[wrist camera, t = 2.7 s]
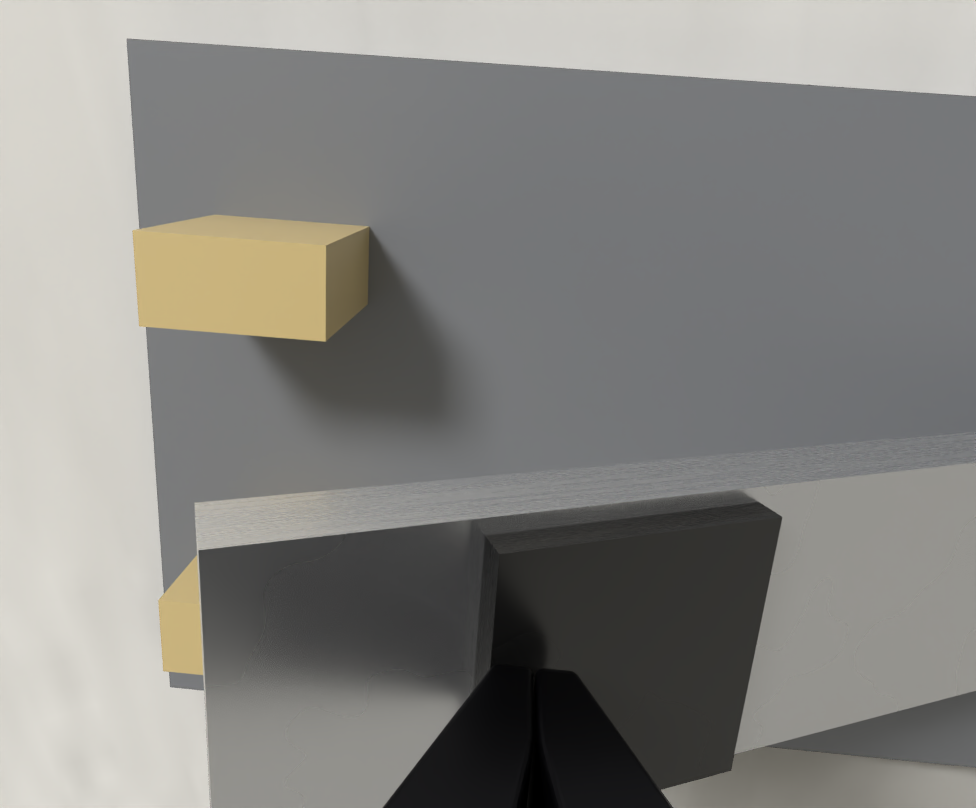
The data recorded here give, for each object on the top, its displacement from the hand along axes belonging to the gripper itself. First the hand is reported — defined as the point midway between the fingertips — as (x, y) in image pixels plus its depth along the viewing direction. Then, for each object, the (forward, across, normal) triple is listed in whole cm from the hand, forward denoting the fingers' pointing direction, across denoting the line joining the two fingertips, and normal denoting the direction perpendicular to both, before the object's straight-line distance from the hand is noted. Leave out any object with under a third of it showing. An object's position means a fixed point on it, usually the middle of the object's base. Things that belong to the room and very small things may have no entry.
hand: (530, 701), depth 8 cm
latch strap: (+7, -13, 0) cm, 15 cm away
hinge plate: (+9, -4, 0) cm, 10 cm away
